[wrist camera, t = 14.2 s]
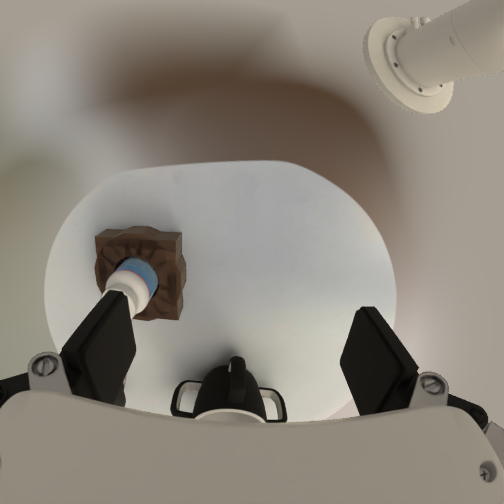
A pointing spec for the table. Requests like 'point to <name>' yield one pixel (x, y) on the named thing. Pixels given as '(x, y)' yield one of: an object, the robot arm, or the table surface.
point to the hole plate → (157, 254)
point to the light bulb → (121, 396)
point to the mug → (229, 396)
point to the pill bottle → (134, 282)
